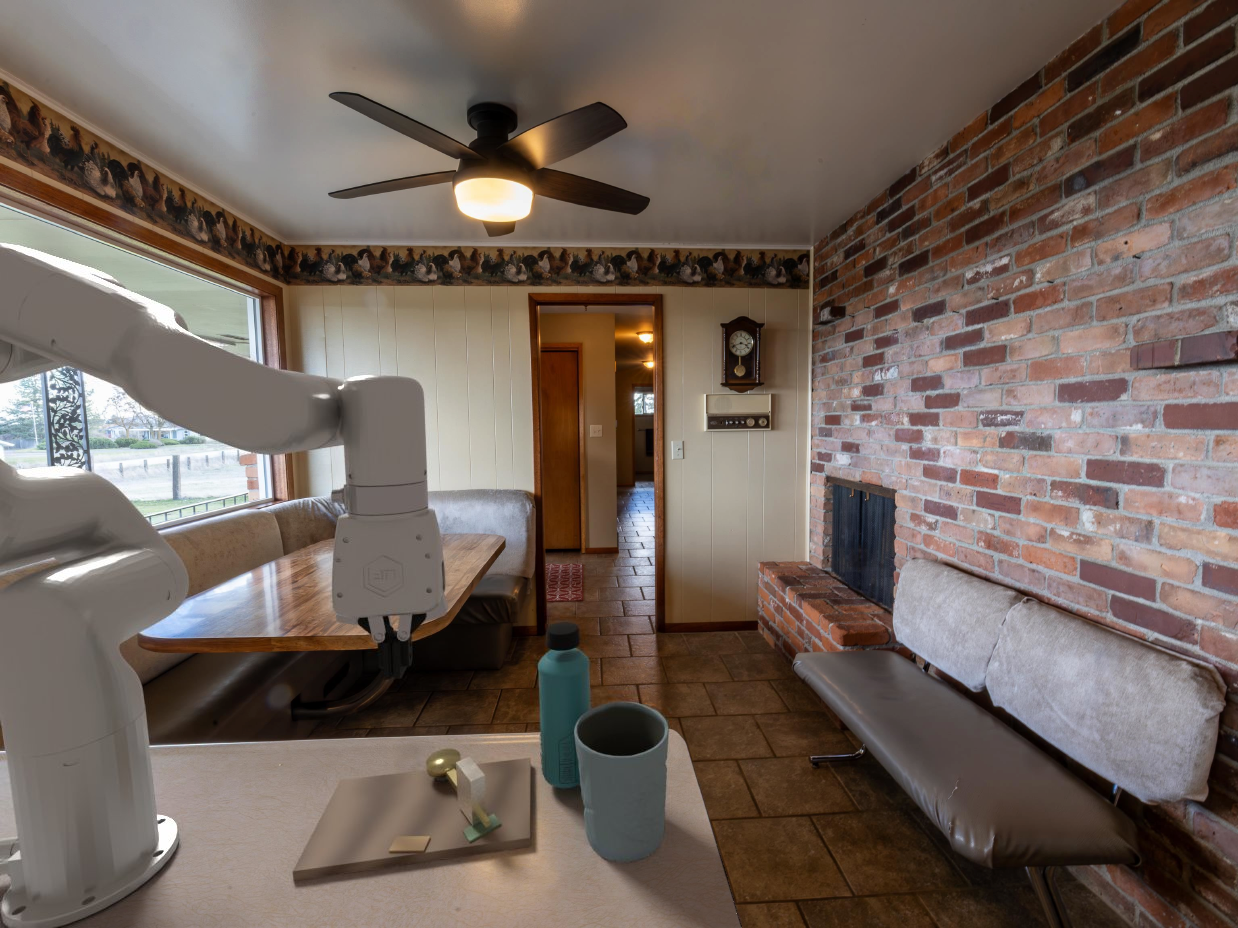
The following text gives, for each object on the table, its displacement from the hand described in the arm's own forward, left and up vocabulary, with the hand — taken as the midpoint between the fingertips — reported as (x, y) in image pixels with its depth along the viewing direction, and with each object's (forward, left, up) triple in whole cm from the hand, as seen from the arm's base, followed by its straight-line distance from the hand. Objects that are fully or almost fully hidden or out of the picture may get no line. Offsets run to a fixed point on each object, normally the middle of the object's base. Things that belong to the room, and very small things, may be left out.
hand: (396, 672), depth 55 cm
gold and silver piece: (+5, +3, -17) cm, 18 cm away
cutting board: (+2, +3, -19) cm, 19 cm away
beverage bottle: (+18, +5, -19) cm, 27 cm away
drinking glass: (+23, -3, -19) cm, 30 cm away
